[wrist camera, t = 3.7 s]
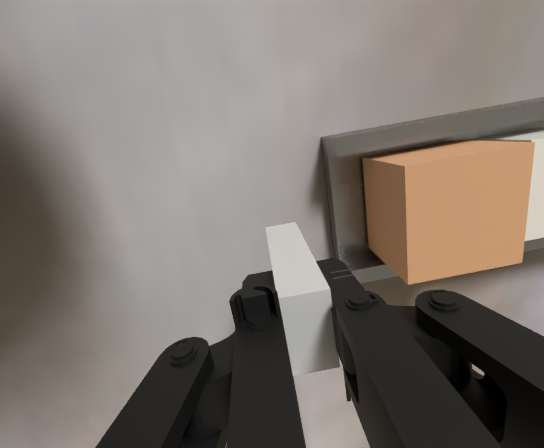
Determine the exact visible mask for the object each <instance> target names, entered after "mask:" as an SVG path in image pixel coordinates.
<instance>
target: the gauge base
mask: <svg viewBox="0 0 544 448" xmlns="http://www.w3.org/2000/svg"><path fill="white" fill-rule="evenodd" d="M535 128H544V97H543V98H537V99H532V100H526V101H521V102H515V103H509V104H504V105H498V106H493V107H487V108H482V109H476V110H470V111H465V112H459V113H454V114H448V115H442V116H437V117H431V118H426V119H420V120H415V121H409V122H403V123H398V124H392V125H387V126H381V127H376V128H370V129H364V130H359V131H353V132H348V133H342V134H336V135H331V136H325V137H321V140H322V149H323V158H324V167H325V176H326V185H327V194H328V202H329V211H330V220H331V229H332V238H333V247H334V256H335V258H337V259H339V260H341V261H343V262H344V263H345V264H346V265H347V267H348V268H349V270H350V271H351V272H352V273H353V275H354V276H355V277H356V279H357V280H358V281H359V283H360V284H362V283H367V282H372V281H377V280H382V279H388V278H393V277H398V275H397V274H396V273H395V272H394V271H393V270H392V269H391V268H390V267H389V266H388V265H386V264H385V263H384V262H383V261H382V260H381V259H380V258H379V257H378V256H377V255H376V254H375V253H374V252H373V251H372V250H371V249H370V248H369V243H368V229H367V215H366V201H365V187H364V173H363V159H362V157H367V156H372V155H378V154H383V153H389V152H394V151H400V150H405V149H411V148H416V147H422V146H427V145H433V144H438V143H444V142H449V141H455V140H477V141H478V139H480V138H485V137H491V136H496V135H502V134H507V133H513V132H518V131H524V130H529V129H535ZM543 248H544V238H539V239H533V240H528V241H525V242H524V251H523V252H527V251H532V250H538V249H543Z"/></svg>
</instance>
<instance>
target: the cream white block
mask: <svg viewBox="0 0 544 448" xmlns="http://www.w3.org/2000/svg"><path fill="white" fill-rule="evenodd" d="M478 141H507V142H535V148H534V158H533V167H532V176H531V186H530V195H529V204H528V214H527V223H526V232H525V241H528V240H533V239H539V238H544V128H535V129H529V130H524V131H518V132H513V133H507V134H502V135H496V136H491V137H485V138H480V139H478Z"/></svg>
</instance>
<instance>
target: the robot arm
mask: <svg viewBox="0 0 544 448" xmlns="http://www.w3.org/2000/svg"><path fill="white" fill-rule="evenodd" d="M266 234H267V240H268V247H269V253H270V259H271V265H272V271H267V272H262V273H256V274H251V275H248V276H247V277H246V279H245V280H244V281H243V286H242V289H240V290H238V291H237V292H235V293H234V294H233V295H232V296H231V298H230V301H229V302H230V307H231V311H232V315H233V319H234V323H235V332H234V333H233V334H232V335H230V336H229V337H228V338H226V339H224V340H222V341H220V342H218V343H215V344H213V345H211V346H209V345H208V342H207V341H206V340H204V339H203V338H199V337H190V338H185V339H182V340H179V341H177V342H175V343H174V344H172V345H171V346H169V347H168V348H166V349H165V350H164V351H163V353H162V354H161V355H160V356H159V357H158V359H157V360H156V362H155V363H154V365H153V366H152V367H151V369H150V370H149V372H148V373H147V375H146V376H145V377H144V379H143V380H142V382H141V383H140V385H139V386H138V387H137V389H136V390H135V392H134V393H133V395H132V396H131V397H130V399H129V400H128V402H127V403H126V405H125V406H124V407H123V409H122V410H121V412H120V413H119V415H118V416H117V417H116V419H115V420H114V422H113V423H112V425H111V426H110V427H109V429H108V430H107V432H106V433H105V435H104V436H103V437H102V439H101V440H100V442H99V443H98V445H97V446H96V447H95V448H225V446H226V442H227V448H306V445H305V439H304V434H303V428H302V423H301V417H300V412H299V406H298V401H297V395H296V390H295V384H294V379H293V376H296V375H301V374H306V373H311V372H316V371H321V370H326V369H332V368H337V367H340V364H339V357H340V360H341V362H342V365H343V370H344V379H345V387H346V395H347V401H351V398H352V401H353V404H354V406H355V409H356V411H357V414H358V417H359V419H360V422H361V424H362V427H363V430H364V432H365V435H366V438H367V440H368V443H369V445H370V448H544V336H542V335H540V334H538V333H536V332H534V331H532V330H530V329H528V328H526V327H524V326H522V325H520V324H518V323H516V322H514V321H512V320H510V319H508V318H506V317H505V316H503V315H501V314H499V313H497V312H495V311H493V310H491V309H489V308H487V307H485V306H483V305H481V304H479V303H477V302H475V301H473V300H471V299H469V298H467V297H465V296H463V295H461V294H458V293H456V292H452V291H446V290H430V291H425V292H423V293H421V294H419V295H418V296H417V298H416V300H415V306H392V305H387V304H386V303H385V301H384V300H383V299H382V298H381V297H380V296H378V295H377V294H375V293H372V292H369V291H365V290H364V288H363V287H362V286H361V284H360V283H359V281H358V280H357V279H356V277H355V276H354V275H353V273H352V272H351V271H350V270H349V268H348V267H347V265H346V264H345V263H344V262H343V261H341V260H339V259H337V258H331V259H326V260H321V261H315V259H314V257H313V255H312V253H311V251H310V249H309V247H308V245H307V243H306V242H305V240H304V238H303V236H302V234H301V232H300V230H299V228H298V226H297V224H296V222H293V223H287V224H282V225H277V226H271V227H266ZM338 355H339V356H338ZM472 364H474V365H475V366H476V367H478V368H479V369H480V370H482V371H483V372H485V375H484V376H482V375H481V374H479V373H477V372H476V371H475V370H473V369H472Z"/></svg>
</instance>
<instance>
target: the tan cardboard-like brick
mask: <svg viewBox="0 0 544 448" xmlns="http://www.w3.org/2000/svg"><path fill="white" fill-rule="evenodd" d="M534 148H535V142H507V141H477V140H455V141H449V142H444V143H438V144H433V145H427V146H422V147H416V148H411V149H405V150H400V151H394V152H389V153H383V154H378V155H372V156H367V157H362V159H363V173H364V187H365V201H366V215H367V229H368V243H369V248H370V249H371V250H372V251H373V252H374V253H375V254H376V255H377V256H378V257H379V258H380V259H381V260H382V261H383V262H384V263H385V264H386V265H388V266H389V267H390V268H391V269H392V270H393V271H394V272H395V273H396V274H397V275H398V276H399V277H400V278H401V279H402V280H403V281H404V282H406V283H407V284H408V285H410V284H415V283H421V282H426V281H431V280H436V279H441V278H446V277H451V276H457V275H462V274H467V273H472V272H477V271H482V270H487V269H493V268H498V267H503V266H508V265H513V264H518V263H522V260H523V251H524V242H525V232H526V223H527V214H528V204H529V195H530V186H531V176H532V167H533V158H534Z"/></svg>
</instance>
